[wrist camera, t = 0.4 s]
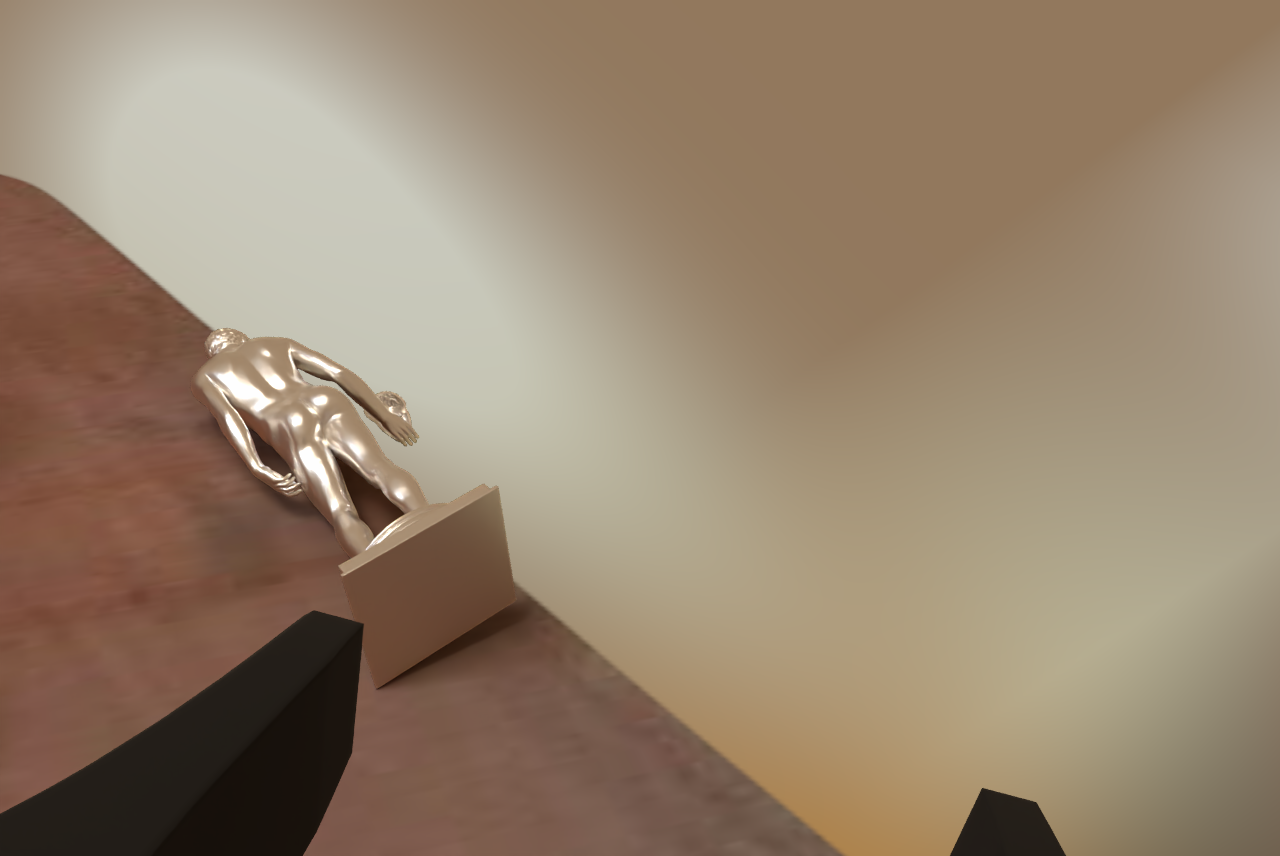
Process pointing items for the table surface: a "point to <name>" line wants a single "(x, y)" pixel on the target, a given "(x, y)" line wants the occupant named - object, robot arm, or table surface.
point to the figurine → (308, 441)
